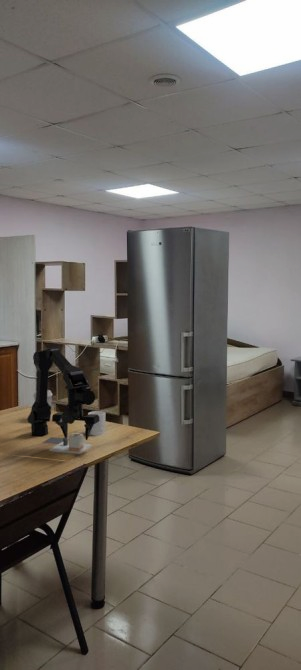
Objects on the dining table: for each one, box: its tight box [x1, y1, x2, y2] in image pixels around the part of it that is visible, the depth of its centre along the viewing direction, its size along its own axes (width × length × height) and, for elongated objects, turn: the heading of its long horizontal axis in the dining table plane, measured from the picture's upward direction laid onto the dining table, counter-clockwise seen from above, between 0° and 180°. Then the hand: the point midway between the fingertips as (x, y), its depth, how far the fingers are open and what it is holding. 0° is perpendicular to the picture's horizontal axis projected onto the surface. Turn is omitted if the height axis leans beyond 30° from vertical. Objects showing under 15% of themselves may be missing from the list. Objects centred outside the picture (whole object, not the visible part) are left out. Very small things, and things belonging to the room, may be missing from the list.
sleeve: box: [68, 432, 85, 452], centre depth 205 cm, size 4×4×6 cm
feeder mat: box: [42, 436, 64, 445], centre depth 219 cm, size 8×8×1 cm
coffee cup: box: [32, 389, 53, 423], centre depth 253 cm, size 10×10×15 cm
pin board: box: [48, 437, 93, 455], centre depth 208 cm, size 14×11×4 cm
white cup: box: [87, 410, 107, 437], centre depth 228 cm, size 8×8×10 cm
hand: (76, 438), depth 204 cm, fingers open, 9 cm apart
